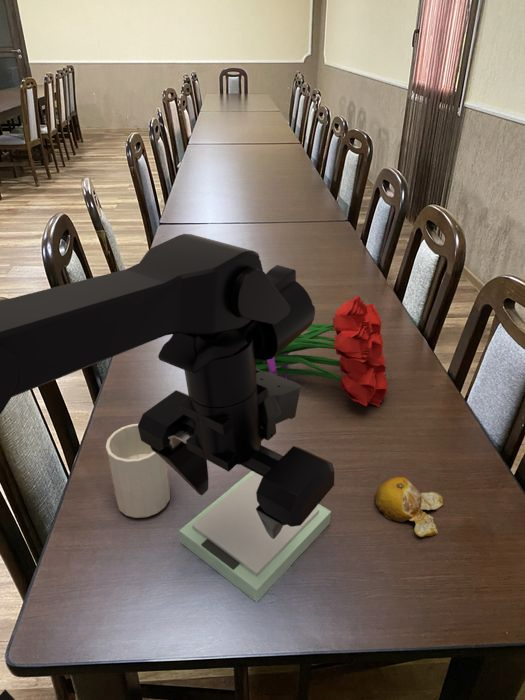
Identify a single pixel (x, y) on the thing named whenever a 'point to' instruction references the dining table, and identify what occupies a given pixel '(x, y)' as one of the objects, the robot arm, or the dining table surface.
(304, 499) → the robot arm
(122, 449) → the cream faceted cup
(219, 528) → the scale
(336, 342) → the bouquet
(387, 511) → the fruit
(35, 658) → the dining table surface
